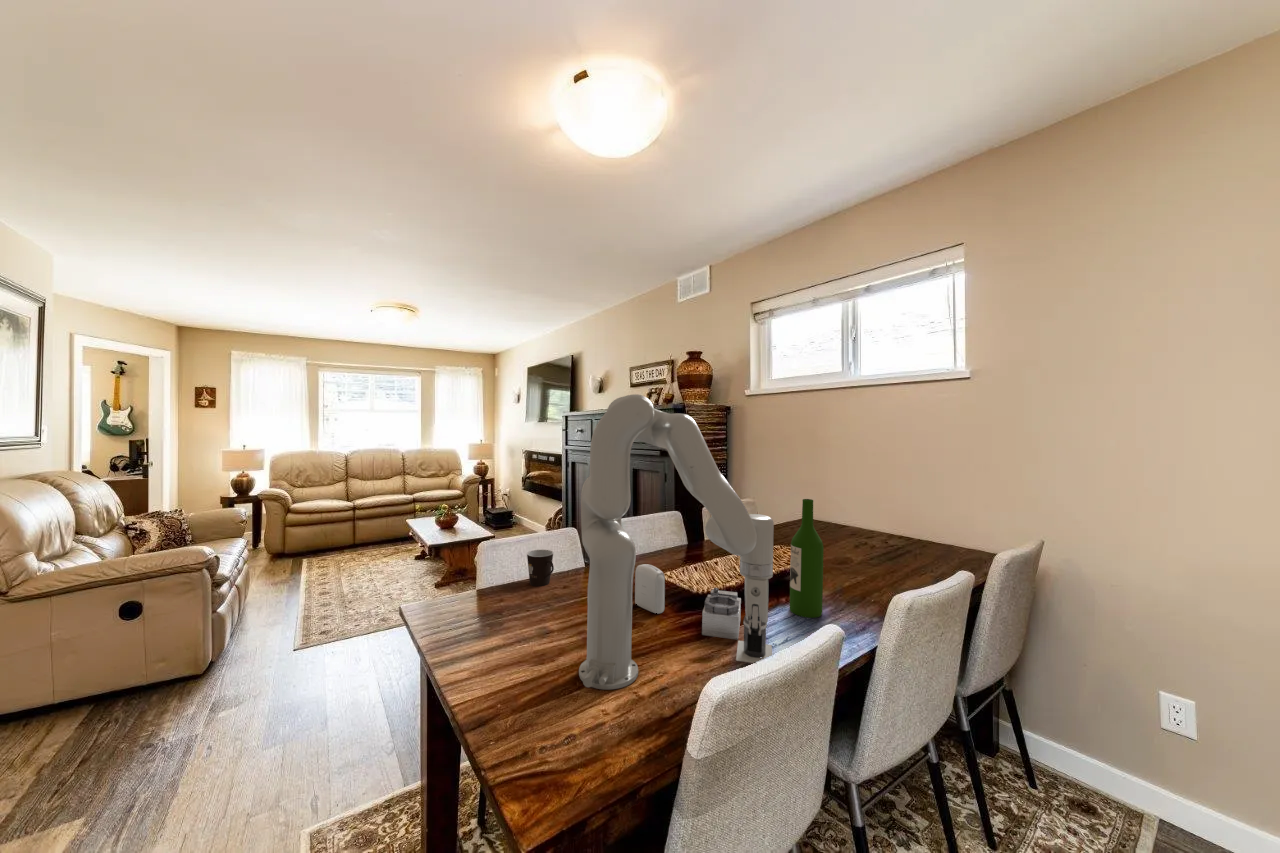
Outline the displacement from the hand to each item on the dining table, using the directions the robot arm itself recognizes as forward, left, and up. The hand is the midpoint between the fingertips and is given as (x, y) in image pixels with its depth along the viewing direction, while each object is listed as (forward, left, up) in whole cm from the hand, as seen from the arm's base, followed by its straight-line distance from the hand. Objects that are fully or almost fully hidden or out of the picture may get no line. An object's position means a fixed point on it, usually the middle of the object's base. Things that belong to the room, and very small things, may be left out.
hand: (754, 644), depth 108 cm
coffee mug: (+27, +69, -2) cm, 74 cm away
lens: (0, 0, -2) cm, 2 cm away
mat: (0, 0, -2) cm, 2 cm away
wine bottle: (+30, -14, -2) cm, 33 cm away
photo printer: (+19, +30, -3) cm, 36 cm away
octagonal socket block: (+12, +8, -2) cm, 15 cm away
